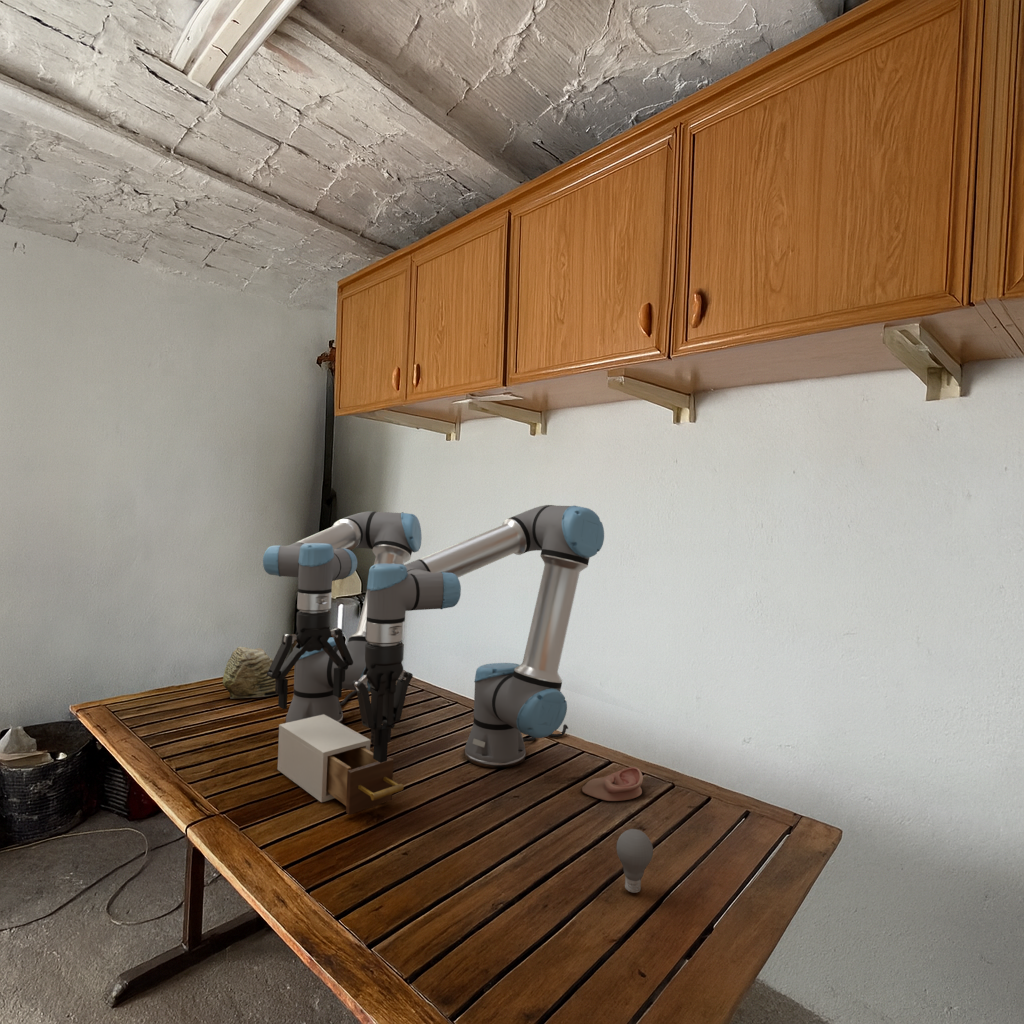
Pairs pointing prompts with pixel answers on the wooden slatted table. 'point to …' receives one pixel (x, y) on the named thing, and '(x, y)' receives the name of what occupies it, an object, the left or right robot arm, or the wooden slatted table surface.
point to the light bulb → (634, 857)
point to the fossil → (248, 674)
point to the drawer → (360, 779)
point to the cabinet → (314, 751)
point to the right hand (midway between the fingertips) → (380, 759)
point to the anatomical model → (616, 785)
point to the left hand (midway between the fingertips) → (310, 701)
